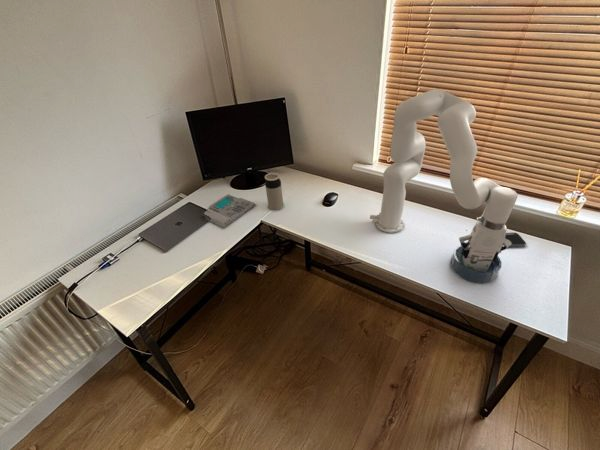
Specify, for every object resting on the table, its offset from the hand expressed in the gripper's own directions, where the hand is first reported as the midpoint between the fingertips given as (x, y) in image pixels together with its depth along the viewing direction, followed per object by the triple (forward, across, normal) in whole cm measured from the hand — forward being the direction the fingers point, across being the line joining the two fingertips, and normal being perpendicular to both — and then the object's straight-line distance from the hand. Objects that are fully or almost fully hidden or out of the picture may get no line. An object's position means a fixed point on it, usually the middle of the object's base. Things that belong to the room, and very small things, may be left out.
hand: (478, 256), depth 115 cm
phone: (+6, +16, +18) cm, 25 cm away
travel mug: (+6, -89, +33) cm, 95 cm away
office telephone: (+6, -114, +26) cm, 117 cm away
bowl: (+6, 0, 0) cm, 6 cm away
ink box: (+6, 0, 0) cm, 6 cm away
